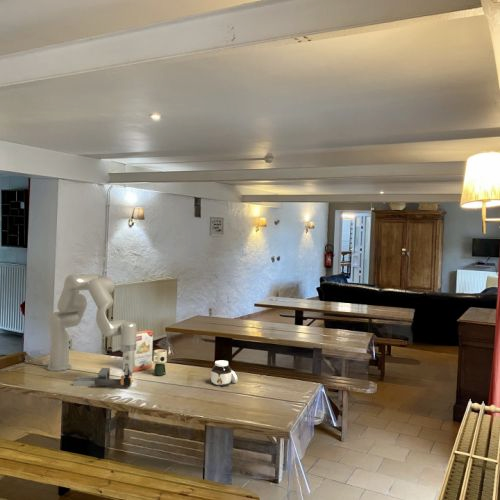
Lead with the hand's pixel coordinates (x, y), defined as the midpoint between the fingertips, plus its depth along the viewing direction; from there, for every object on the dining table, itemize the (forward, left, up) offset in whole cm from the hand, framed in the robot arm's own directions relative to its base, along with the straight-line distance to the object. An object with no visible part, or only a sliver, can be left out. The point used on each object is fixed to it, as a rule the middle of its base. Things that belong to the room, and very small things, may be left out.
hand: (127, 383), depth 240 cm
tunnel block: (-19, +8, -2) cm, 21 cm away
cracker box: (+2, +32, -2) cm, 32 cm away
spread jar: (+48, +4, -2) cm, 48 cm away
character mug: (+14, +21, -2) cm, 25 cm away
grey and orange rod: (-6, 0, 0) cm, 6 cm away
